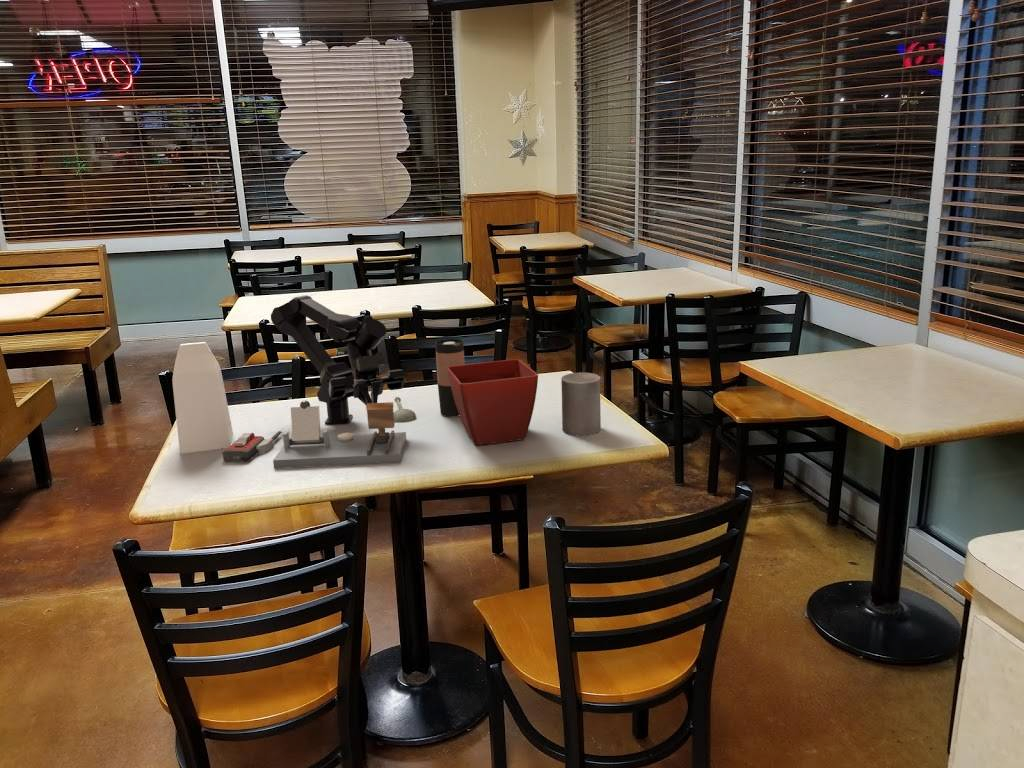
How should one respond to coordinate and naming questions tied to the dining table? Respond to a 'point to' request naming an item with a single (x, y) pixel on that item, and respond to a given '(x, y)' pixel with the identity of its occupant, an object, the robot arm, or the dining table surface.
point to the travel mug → (447, 355)
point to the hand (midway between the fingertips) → (374, 412)
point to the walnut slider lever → (380, 419)
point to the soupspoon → (403, 414)
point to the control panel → (341, 450)
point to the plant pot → (494, 399)
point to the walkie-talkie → (248, 447)
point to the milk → (200, 400)
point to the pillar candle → (581, 404)
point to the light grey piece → (305, 425)
